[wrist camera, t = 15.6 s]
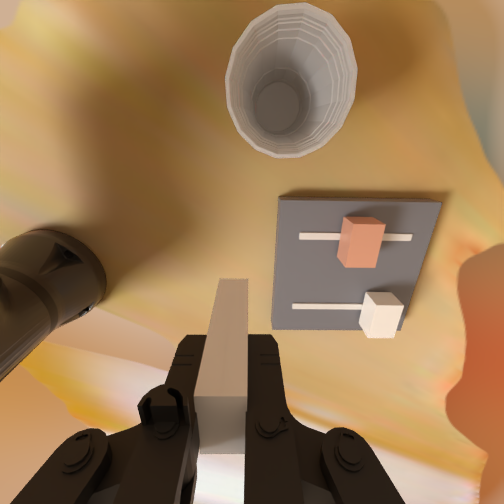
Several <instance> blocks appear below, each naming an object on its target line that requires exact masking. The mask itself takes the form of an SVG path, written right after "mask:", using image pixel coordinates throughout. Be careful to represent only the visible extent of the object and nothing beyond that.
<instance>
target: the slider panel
mask: <svg viewBox="0 0 504 504" xmlns="http://www.w3.org/2000/svg"><path fill="white" fill-rule="evenodd" d="M441 205H442V202H439V201H435V200H432V199H405V198H341V197H278V214H277V231H276V247H275V264H274V281H273V297H272V314H271V323H272V330H363V329H362V328H361V326H360V324H359V319H360V314H361V310H362V306H363V302H364V297H365V293H366V292H392V294H393V295H394V296H395V297H396V298H397V299H398V300H399V301H400V302H401V303H402V304H403V305H404V308H403V311H402V314H401V317H400V320H399V323H398V326H397V330H396V331H400V330H401V327H402V324H403V321H404V318H405V315H406V312H407V309H408V306H409V303H410V300H411V297H412V294H413V291H414V288H415V285H416V282H417V279H418V275H419V272H420V269H421V266H422V263H423V260H424V257H425V254H426V251H427V248H428V245H429V242H430V239H431V236H432V233H433V230H434V227H435V224H436V221H437V218H438V214H439V211H440V208H441ZM343 217H374V218H375V219H377V220H379V221H381V222H382V223H384V224H386V226H385V230H384V234H383V238H382V242H381V246H380V250H379V254H378V259H377V263H376V267H375V268H345V266H344V265H343V264H342V263H341V261H340V260H339V259H338V257H337V252H338V247H339V241H340V235H341V229H342V223H343Z"/></svg>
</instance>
